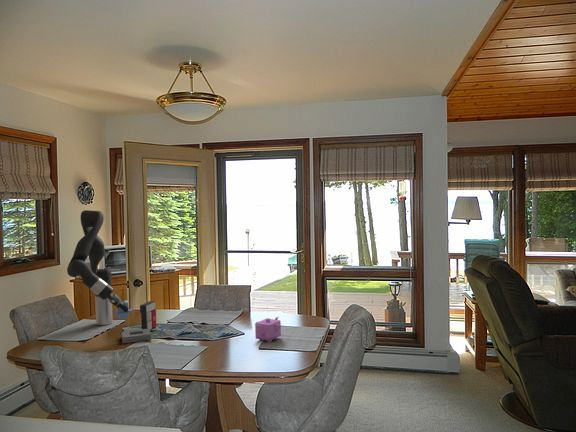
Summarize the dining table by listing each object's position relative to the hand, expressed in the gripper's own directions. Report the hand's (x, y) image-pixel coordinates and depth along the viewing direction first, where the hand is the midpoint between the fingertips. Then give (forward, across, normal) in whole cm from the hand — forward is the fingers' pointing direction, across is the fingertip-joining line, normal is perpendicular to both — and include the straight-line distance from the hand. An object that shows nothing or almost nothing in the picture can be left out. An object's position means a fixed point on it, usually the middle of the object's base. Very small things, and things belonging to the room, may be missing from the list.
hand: (127, 309), depth 236 cm
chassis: (+14, 0, +8) cm, 16 cm away
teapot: (+60, -30, -37) cm, 77 cm away
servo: (+2, 0, +4) cm, 5 cm away
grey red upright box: (+19, +16, +4) cm, 25 cm away
